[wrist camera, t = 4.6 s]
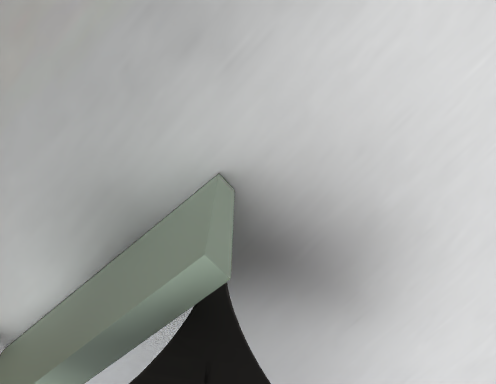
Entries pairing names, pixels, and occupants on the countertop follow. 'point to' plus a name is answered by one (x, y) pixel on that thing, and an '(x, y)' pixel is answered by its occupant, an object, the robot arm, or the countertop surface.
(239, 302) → the countertop surface
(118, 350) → the door
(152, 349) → the countertop surface
